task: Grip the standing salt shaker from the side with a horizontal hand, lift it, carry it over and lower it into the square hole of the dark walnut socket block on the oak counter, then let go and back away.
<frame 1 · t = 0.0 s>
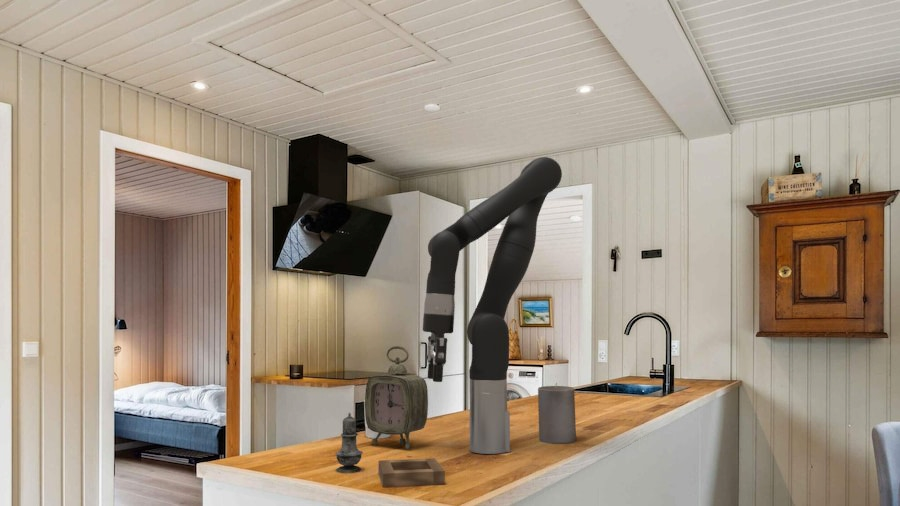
hand: (434, 380, 159), 17 cm above the counter, tool pointing down, fingers open, 8 cm apart
salt shaker: (348, 470, 140), on the counter
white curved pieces: (378, 437, 180), on the counter
socket block: (410, 478, 132), on the counter
tabletop clock: (397, 446, 167), on the counter
pillar candle: (557, 441, 173), on the counter
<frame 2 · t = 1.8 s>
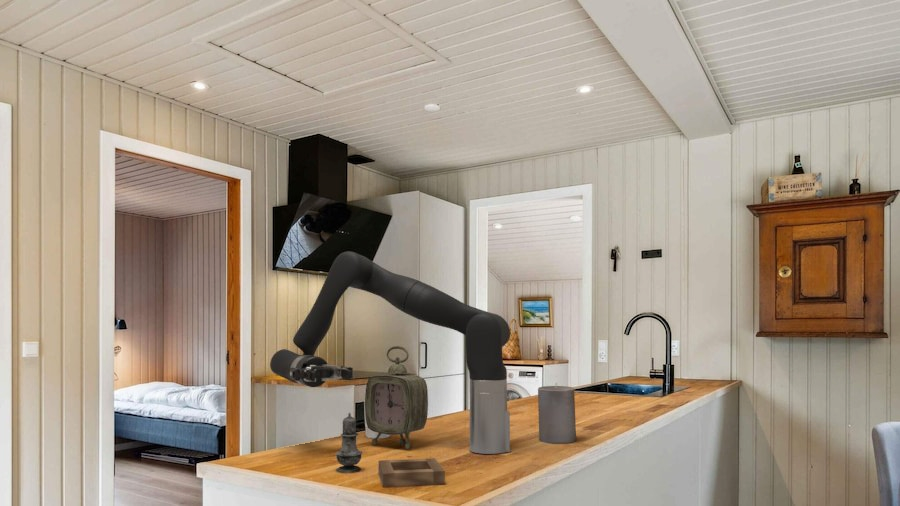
hand: (331, 375, 151), 19 cm above the counter, tool horizontal, fingers open, 8 cm apart
nothing on the counter moved.
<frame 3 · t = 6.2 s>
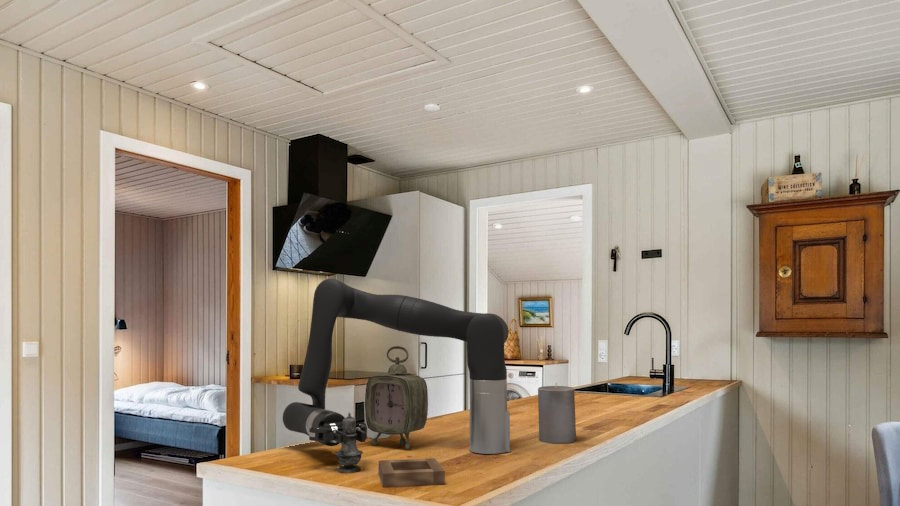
hand: (354, 438, 138), 7 cm above the counter, tool horizontal, fingers closed on salt shaker, 3 cm apart
salt shaker: (348, 470, 140), on the counter, touching gripper
everything else where it was.
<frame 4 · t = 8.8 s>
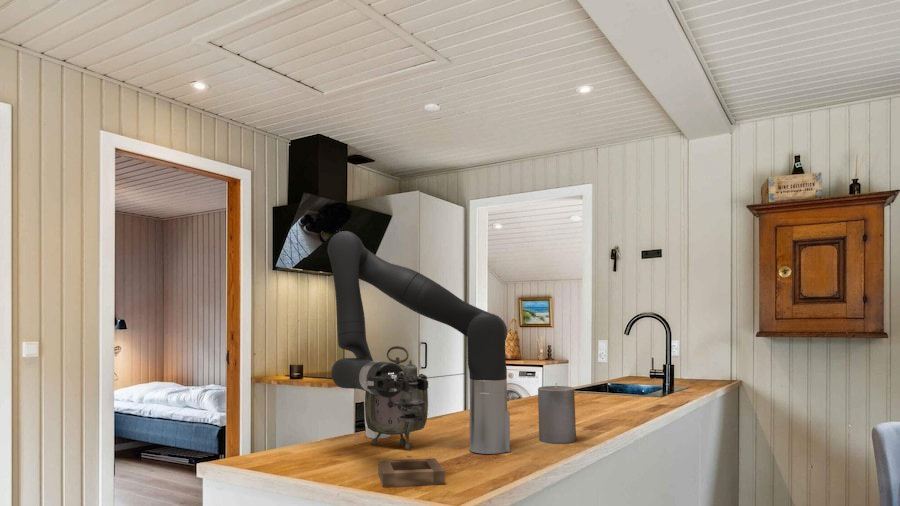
hand: (416, 385, 132), 19 cm above the counter, tool horizontal, fingers closed on salt shaker, 3 cm apart
salt shaker: (409, 420, 133), point 11 cm above the counter, touching gripper
everything else where it was.
when the fingers open (8 cm above the counter, at t = 11.5 s): salt shaker drops 1 cm, resting in socket block.
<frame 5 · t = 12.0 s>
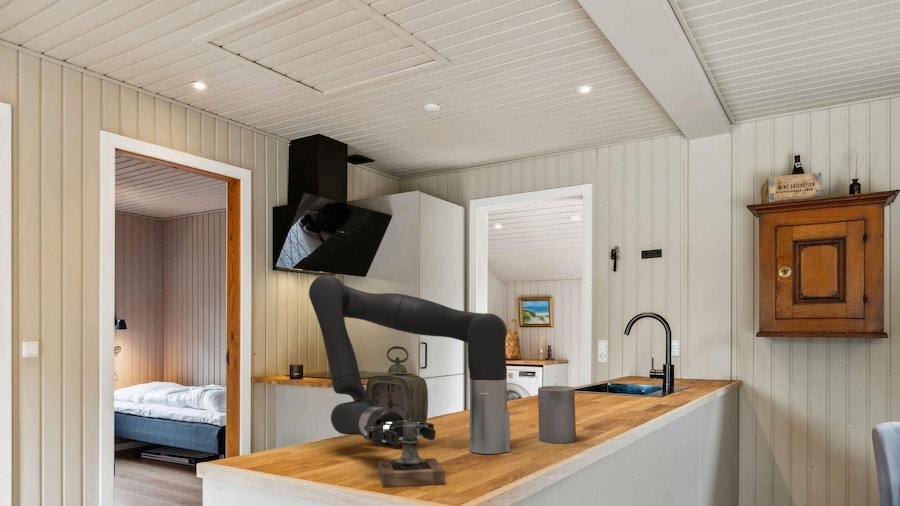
hand: (415, 436, 131), 9 cm above the counter, tool horizontal, fingers open, 8 cm apart
salt shaker: (410, 479, 132), resting in socket block
everything else where it was.
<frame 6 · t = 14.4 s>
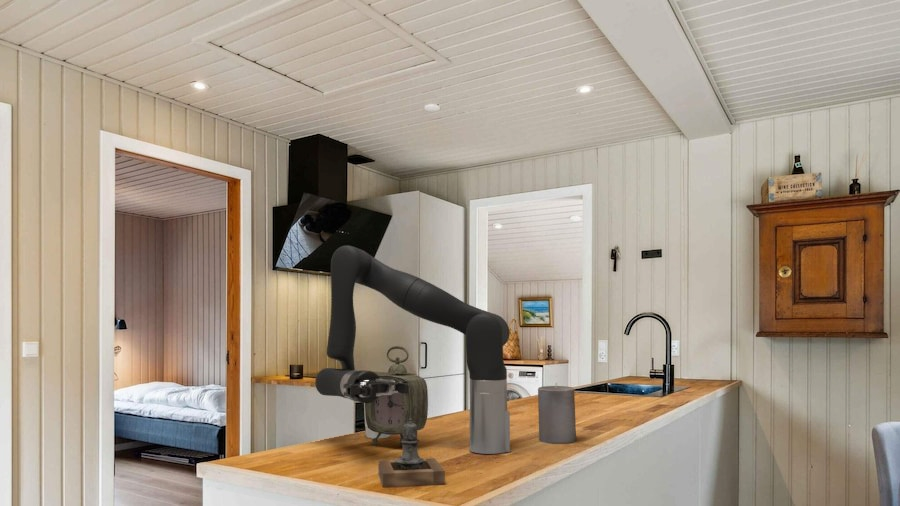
hand: (389, 390, 145), 16 cm above the counter, tool horizontal, fingers open, 8 cm apart
nothing on the counter moved.
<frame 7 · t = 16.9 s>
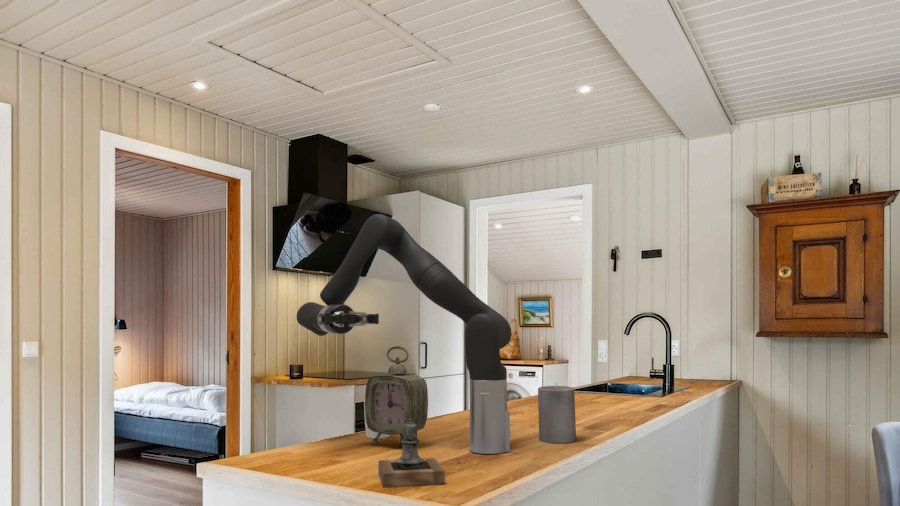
hand: (360, 318, 157), 32 cm above the counter, tool horizontal, fingers open, 8 cm apart
nothing on the counter moved.
at the end: salt shaker 0.1 cm off-centre on the socket block, point 0.0 cm above the socket block's base; salt shaker tilted 0°; the gripper is holding nothing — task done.
